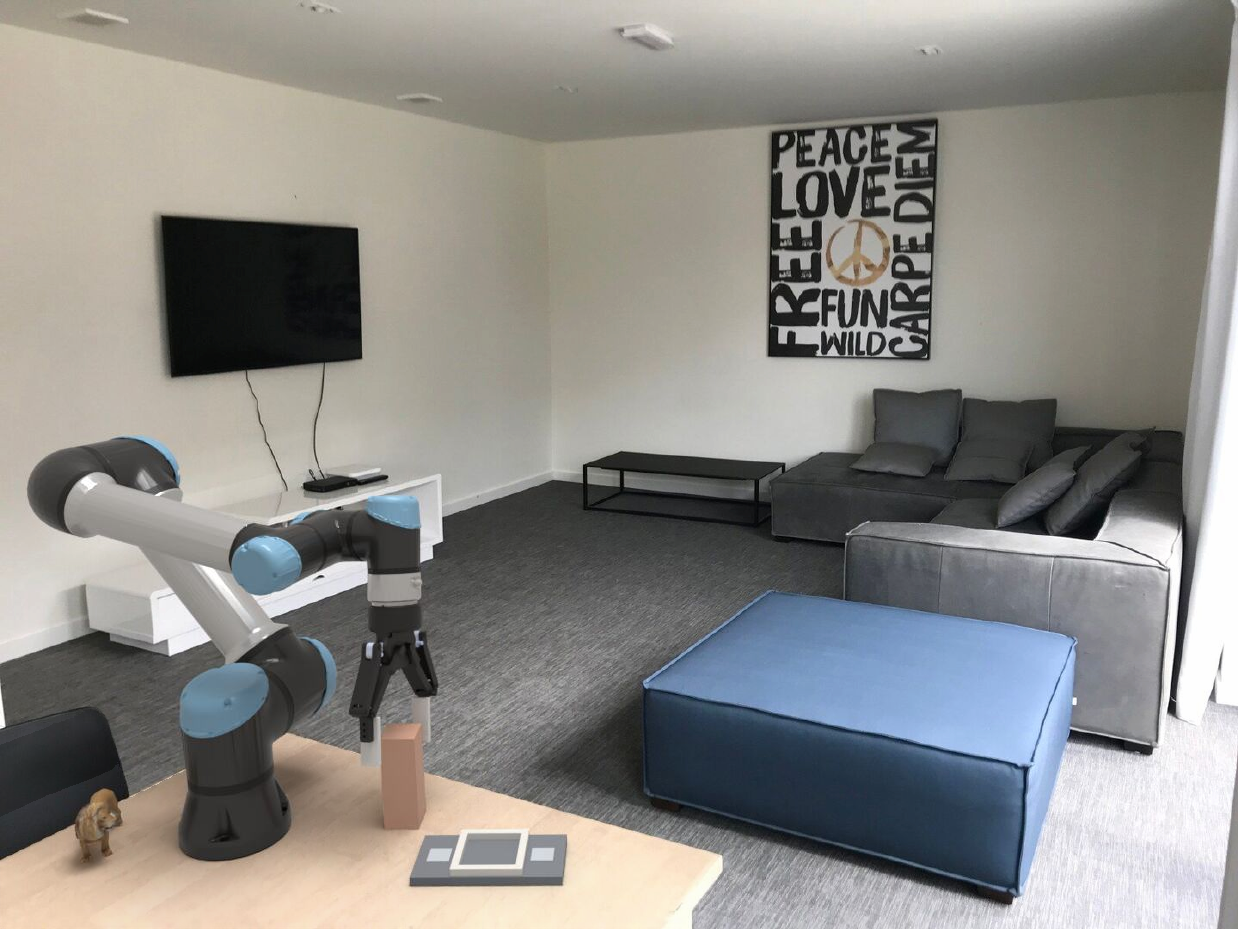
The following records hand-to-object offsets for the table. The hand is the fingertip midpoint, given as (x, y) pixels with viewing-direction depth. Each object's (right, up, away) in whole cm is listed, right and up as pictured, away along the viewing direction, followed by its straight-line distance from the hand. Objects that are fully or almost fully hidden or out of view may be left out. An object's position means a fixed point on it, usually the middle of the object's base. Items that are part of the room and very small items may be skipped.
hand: (397, 753), depth 140 cm
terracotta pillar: (0, -11, +5) cm, 12 cm away
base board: (+14, -13, -6) cm, 20 cm away
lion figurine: (-41, -13, -1) cm, 43 cm away
